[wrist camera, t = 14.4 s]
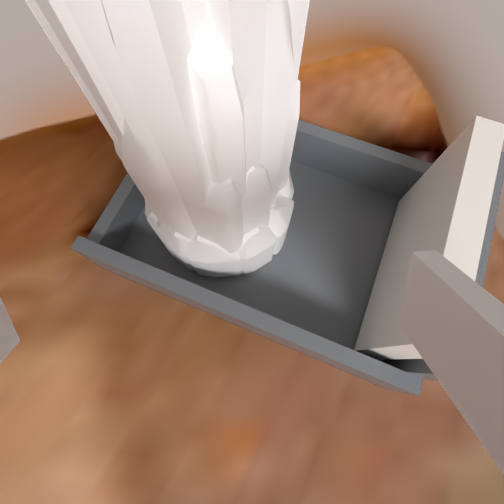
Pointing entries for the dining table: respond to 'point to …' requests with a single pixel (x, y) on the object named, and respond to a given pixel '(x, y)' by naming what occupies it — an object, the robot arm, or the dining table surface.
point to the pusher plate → (434, 231)
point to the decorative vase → (195, 114)
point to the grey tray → (295, 255)
